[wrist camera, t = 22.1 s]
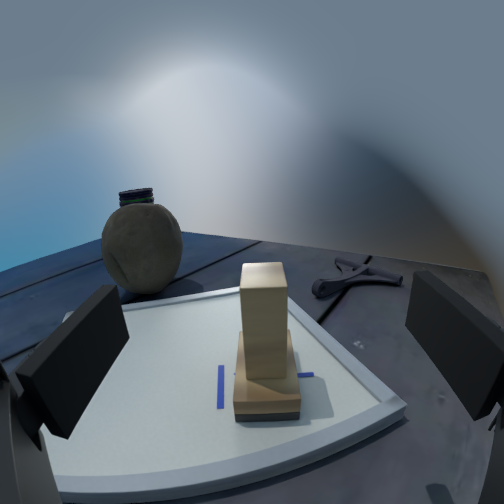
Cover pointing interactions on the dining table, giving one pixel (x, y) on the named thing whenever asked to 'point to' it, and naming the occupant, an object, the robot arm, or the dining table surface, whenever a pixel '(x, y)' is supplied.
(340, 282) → the bracket
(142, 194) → the storage jar
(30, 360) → the robot arm
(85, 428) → the board
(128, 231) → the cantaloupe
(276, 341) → the eraser
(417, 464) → the dining table surface
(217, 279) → the dining table surface
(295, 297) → the dining table surface
